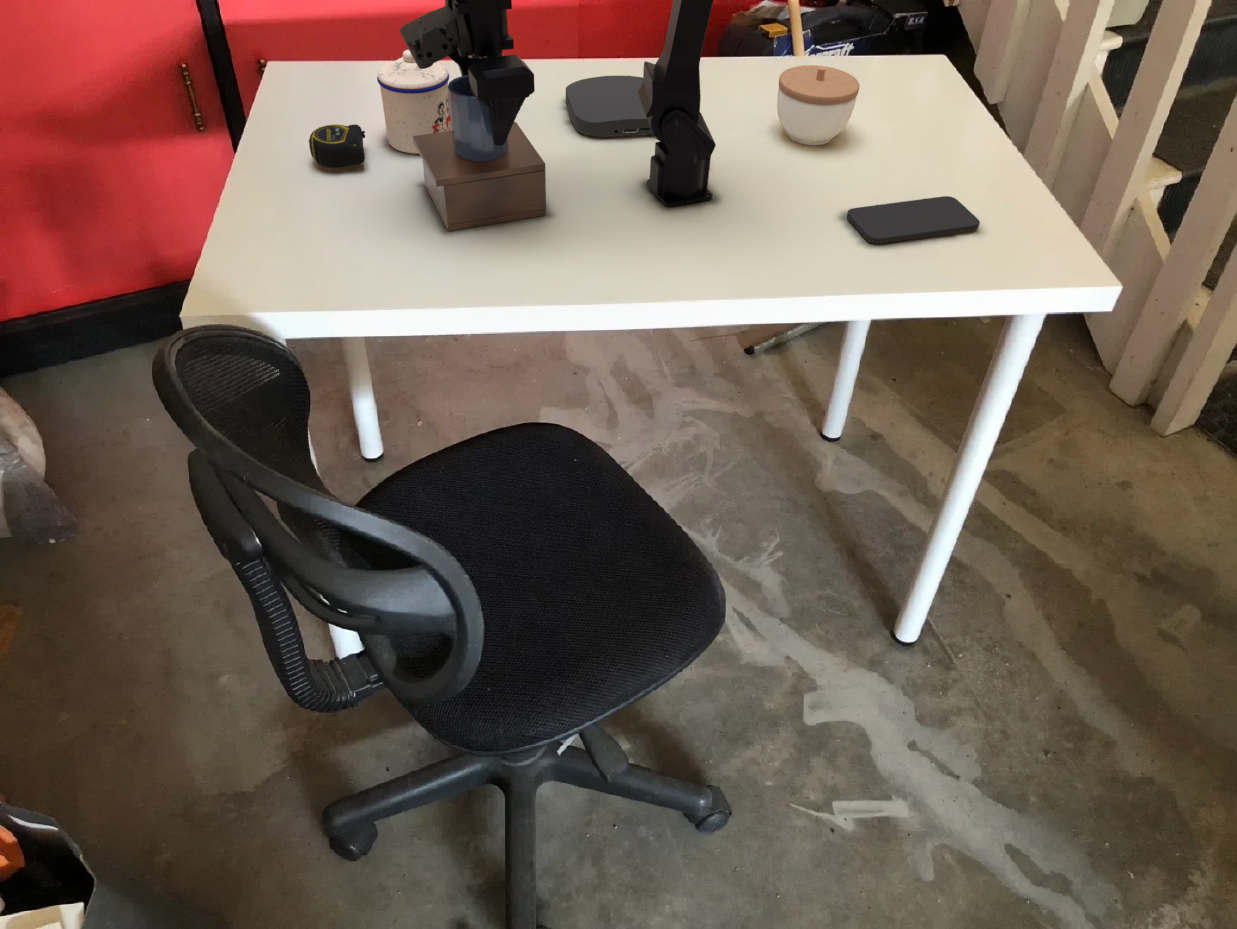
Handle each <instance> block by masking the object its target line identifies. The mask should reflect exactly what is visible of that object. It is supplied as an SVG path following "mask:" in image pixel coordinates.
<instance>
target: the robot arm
mask: <svg viewBox="0 0 1237 929" xmlns="http://www.w3.org/2000/svg"><path fill="white" fill-rule="evenodd" d="M713 5H714V0H673V1H672V6H671V11H670V15H669V16H670V17H669V22H668V26H667V31H666V37H665V41H664V46H663V50H662V52H661V54H660V55H659V57H658V59H657V60H656V62H655V63H653V62H650V61H644V62H643V73H642V74H643V76H642V78H643V82H642V85H641V87H640V89H639V91H638V96H639V98H640V101H641V104H642V107H643V109H644V112H645V115H646V117H647V120H648V123H649V125H650V128H651V131H652V133H653V134H652V135H653V136H654V137H655V139H656V140H657V141H656V142H655V143H654V155H651V157H650V164H649V165H650V166H649V168H650V169H649V178H648V179H647V180H646V183H647V185H648V187H649V188H650V189H651V190H652V192H653V193H654V194H655V195H656V197H657V198H658V199H659V200H660V202H662V204H663V205H664V206H666V207H674V206H680V205H686V204H691V203H697V202H702V201H710V200H712V199H714V194H713V193H712V191H711V190H710V189H709V188H708V186H709V179H710V178H709V177H710V169H711V159H712V155H713V153H714V151H715V148H716V146H717V145H716V142H715V140H714V137H713V136H712V133H711V131H710V130H709V127H708V125H707V122H706V120H705V119H704V116H703V113H702V112H701V98H702V97H701V96H702V94H701V74H700V65H701V59H702V54H703V50H704V45H705V40H706V36H707V32H708V27H709V23H710V18H711V14H712V10H713ZM512 9H513V2H512V0H444V5H443V6H442V7H440V8H438V9H434V10H431V11H429V12H427V13H425V14H423V15H421V16H419V17H418V18H415V19H413V20H411V21H409V22H408V23H406V24H404V25H402V26H401V27H400V29H399V33H400V35H401V37H402V40H404V43H405V45H406V47H407V50H409V51H410V53H411V55H412V57H413V59H414V60H415V62H416V64H417V65H418V67H419V68H420V69H426V68H428V67H430V66H432V65H433V63H435V62H440V61H441V60H443V59H445V58H447V57H448V58H450V59H451V60H452V61H453V62H454V63H455V64H456V65H457V66H458V69H459V73H460V75H461V76H464V75H469V81H470V85H471V89H470V90H471V92H472V93H473V95H474V96H475V98H476V99H477V100H478V101H479V102H481V103H483V104H484V105H485V108H486V112H487V116H488V120H489V125H490V129H491V133H492V137H493V141H494V144H495V145H496V146H499V145H504V144H505V142H506V139H507V137H508V135H509V132H510V130H511V128H512V125H513V123H514V122H516V121H515V120H516V119H517V116H518V114H519V112H520V110H521V108H522V106H523V104H524V102H525V100H526V99H527V98H529V97H530V96H531V95H533V93H535V92H536V91H535V90H536V89H535V73H534V72H533V71H532V69H531V68H530V67H529V66H528V64H526V62H525V61H524V60H523V59H521V57H519V56H518V55H517V54H508V55H505V54H503V51H506V50H507V51H508V50H514V49H515V46H514V43H515V42H514V38H513V37H512V36H511V35H510V33H509V30H508V29H509V25H508V24H509V23H508V10H512Z"/></svg>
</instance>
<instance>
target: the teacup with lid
mask: <svg viewBox="0 0 1237 929" xmlns="http://www.w3.org/2000/svg"><path fill="white" fill-rule="evenodd" d="M376 80H377V83H378V85H379V87H380V95H381V104H382V108H383V115H384V123H385V130H386V137H387V142H388V144H389V145H390V146H391V147H392V148H394V149H395V150H397V151H399V152H402V153H406V154H412V155H413V154H414V155H415V154H416V155H420V153H419V152H418V150H417V148H416V146H415V144H414V141H413V136H417V135H424V134H431V133H438V132H445V131H452V129H451V119H450V108H449V98H448V84H449V80H450V74H449V72H448V69H447V68H446V66H444V65H443V64H442V63H440V62H439V61H437V62H435V63H433V65H432V66H430V67H428V68H426V69H420V68H419V67H418V65H417V64H416V62H415V60H414V59H413V57H412V55H411V53H410V51H409V49H406V50H404V51H403V52H402V57H399V58H398V59H396V60H393V61H390V62H388V63H386V64H384V65H383V66H381V67H380V69H379V70H378V72H377V76H376Z"/></svg>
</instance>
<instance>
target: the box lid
mask: <svg viewBox="0 0 1237 929" xmlns="http://www.w3.org/2000/svg"><path fill="white" fill-rule="evenodd" d="M508 138H509V144H508V146H509V150H508V152H507V153H506V154H505V155H504V156H503V157H501V158H498V159H496V160H491V161H483V162H477V161H469V160H466V159H463V158H461V157H459V156H457V155H456V153H455V152H454V146H453V139H452V131H445V132H438V133H431V134H424V135H417V136H413V141H414V144H415V146H416V148H417V150H418V152H419V153H420V154H419V155H420V157H421V160H422V159H423V161H424V163H425V165H426V167H427V169H428V171H429V173H430V175H431V177H432V179H433V181H434V183H435V185H436V186H437V187H438V186H444V185H451V184H457V183H464V182H470V181H477V180H483V179H489V178H496V177H502V176H509V175H515V174H522V173H528V172H534V171H541V170H545V171H546V163H545V161H544V160H543V158H542V156H541V155H540V154H539V152H538V151H537V150H536V148H535V147H534V145H533V144H532V142H531V141H530V140H529V139H528V137H527V135H526V134H525V133H524V131H523V130H522V128H521V127H520V126H519V124H518V123H517V121H514V123H513V125H512V128H511V130H510V132H509V135H508ZM423 161H422V162H423Z"/></svg>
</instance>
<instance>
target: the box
mask: <svg viewBox="0 0 1237 929" xmlns="http://www.w3.org/2000/svg"><path fill="white" fill-rule="evenodd" d="M421 161H422V167H423V168H422V169H423V177H424V184H425V187H426V189H427V191H428V193H429V196H430V198H431V199H432V201H433V203H434V205H435V208H436V210H437V211H438V214H439V215H440V217H441V219H442V221H443V223H444V225H445V228H446V230H447V232H451V231H453V232H454V231H457V230H458V231H459V230H464V229H470V228H477V227H483V226H487V225H494V224H501V223H505V222H513V221H519V220H525V219H530V218H536V217H542V216H546V215H547V186H546V185H547V184H546V183H547V182H546V181H547V180H546V178H547V177H546V169H545V170H541V171H534V172H528V173H522V174H515V175H509V176H502V177H496V178H489V179H483V180H477V181H470V182H464V183H457V184H451V185H444V186H438V187H437V186H436V185H435V183H434V181H433V179H432V177H431V175H430V173H429V171H428V169H427V167H426V165H425V163H424V161H423V159H422V158H421Z"/></svg>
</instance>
